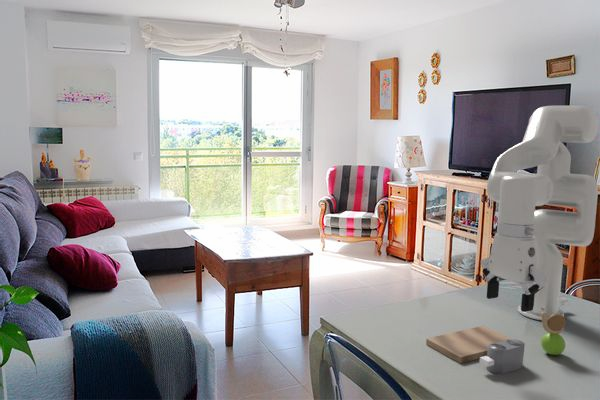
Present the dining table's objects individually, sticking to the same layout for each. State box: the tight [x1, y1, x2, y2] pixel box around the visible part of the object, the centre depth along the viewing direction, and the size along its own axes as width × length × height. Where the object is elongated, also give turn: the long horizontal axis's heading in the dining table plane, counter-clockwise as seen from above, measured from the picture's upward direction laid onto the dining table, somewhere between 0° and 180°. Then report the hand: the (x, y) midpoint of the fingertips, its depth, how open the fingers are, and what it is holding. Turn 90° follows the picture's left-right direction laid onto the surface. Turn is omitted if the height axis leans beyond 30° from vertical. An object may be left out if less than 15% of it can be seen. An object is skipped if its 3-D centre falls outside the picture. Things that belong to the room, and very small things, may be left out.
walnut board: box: [425, 325, 512, 364], centre depth 134 cm, size 20×12×2 cm, turn 118°
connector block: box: [479, 338, 525, 375], centre depth 122 cm, size 12×4×6 cm, turn 118°
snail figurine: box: [540, 307, 566, 356], centre depth 129 cm, size 5×6×12 cm
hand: (508, 304), depth 120 cm, fingers open, 9 cm apart
